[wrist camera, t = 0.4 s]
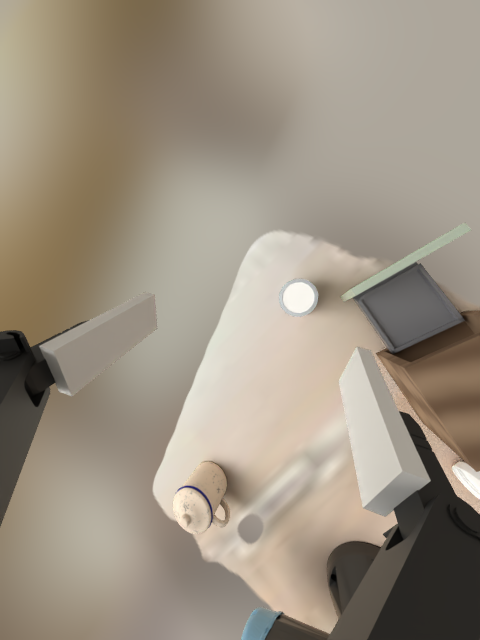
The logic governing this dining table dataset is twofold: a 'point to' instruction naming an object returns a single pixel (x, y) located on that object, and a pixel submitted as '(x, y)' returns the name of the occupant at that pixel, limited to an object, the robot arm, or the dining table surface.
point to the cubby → (444, 384)
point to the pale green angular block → (407, 299)
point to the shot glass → (298, 297)
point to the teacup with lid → (201, 499)
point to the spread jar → (468, 477)
